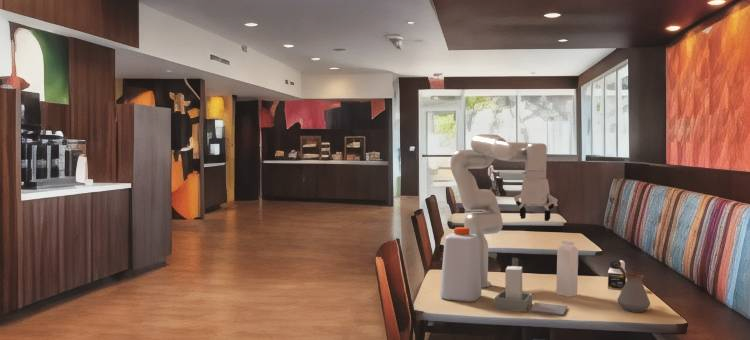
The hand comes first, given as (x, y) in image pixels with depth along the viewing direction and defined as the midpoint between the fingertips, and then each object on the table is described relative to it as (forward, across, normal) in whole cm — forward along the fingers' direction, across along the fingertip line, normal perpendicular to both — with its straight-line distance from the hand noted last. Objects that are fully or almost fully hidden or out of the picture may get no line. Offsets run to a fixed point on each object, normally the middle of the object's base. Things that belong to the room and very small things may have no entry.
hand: (534, 219), depth 238 cm
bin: (+33, -4, -8) cm, 34 cm away
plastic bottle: (+33, -26, -10) cm, 43 cm away
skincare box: (+33, -4, -8) cm, 34 cm away
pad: (+33, +9, -6) cm, 34 cm away
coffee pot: (+33, +30, +20) cm, 49 cm away
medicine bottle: (+33, +18, +49) cm, 61 cm away
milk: (+33, +5, +22) cm, 40 cm away
